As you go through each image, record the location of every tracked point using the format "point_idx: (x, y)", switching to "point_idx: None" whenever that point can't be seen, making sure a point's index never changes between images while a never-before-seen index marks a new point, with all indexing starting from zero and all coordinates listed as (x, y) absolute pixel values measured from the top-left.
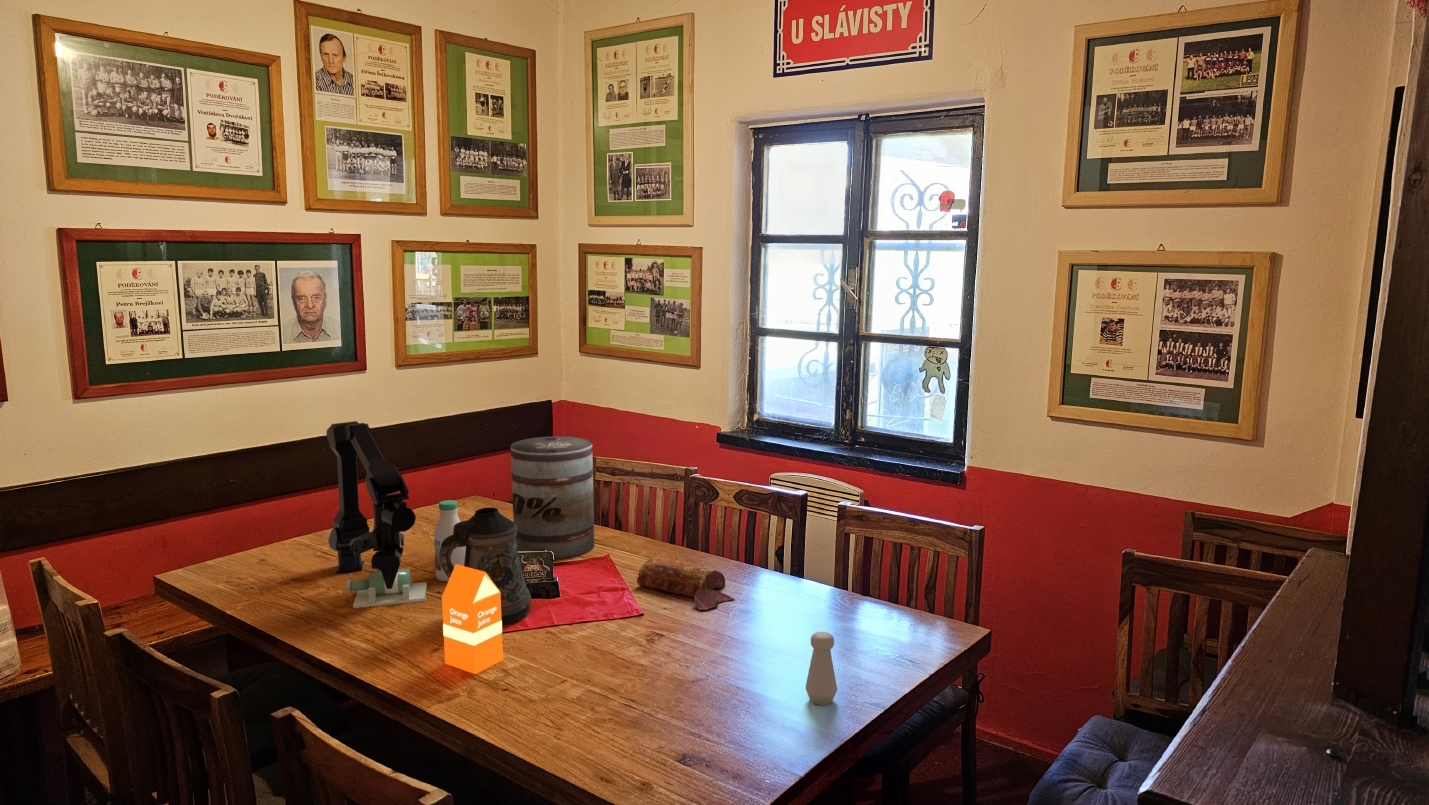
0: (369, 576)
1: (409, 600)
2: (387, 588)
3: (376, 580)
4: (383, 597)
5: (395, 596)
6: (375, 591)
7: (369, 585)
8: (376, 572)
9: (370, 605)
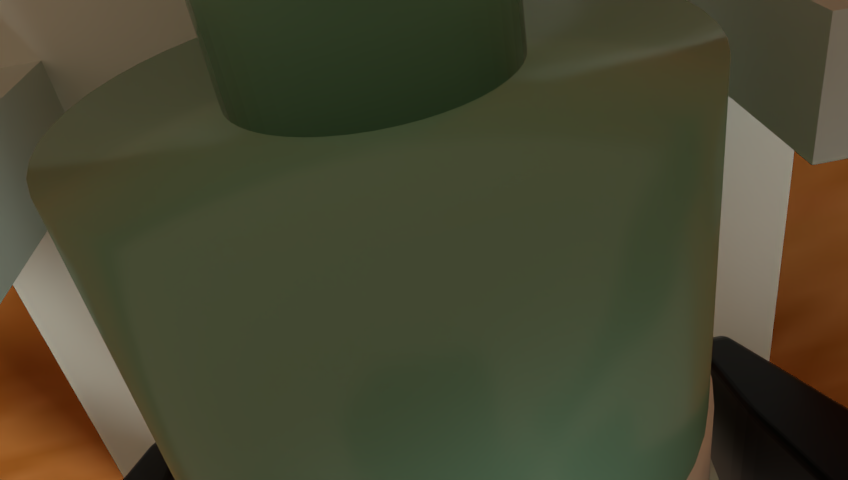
0: (149, 268)
1: None
2: (154, 451)
3: (132, 394)
4: None
5: None
6: (14, 265)
7: (43, 171)
8: (407, 458)
9: None
